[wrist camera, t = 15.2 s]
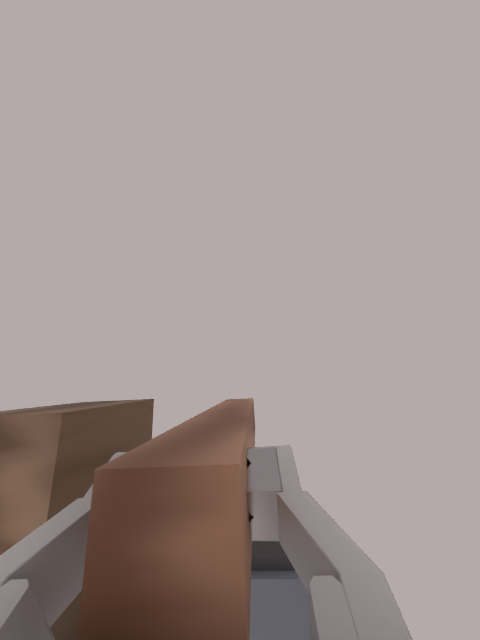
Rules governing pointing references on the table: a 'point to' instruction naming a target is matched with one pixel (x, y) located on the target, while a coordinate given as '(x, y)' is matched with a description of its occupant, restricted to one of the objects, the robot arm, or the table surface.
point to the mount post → (60, 466)
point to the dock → (276, 596)
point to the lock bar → (173, 535)
